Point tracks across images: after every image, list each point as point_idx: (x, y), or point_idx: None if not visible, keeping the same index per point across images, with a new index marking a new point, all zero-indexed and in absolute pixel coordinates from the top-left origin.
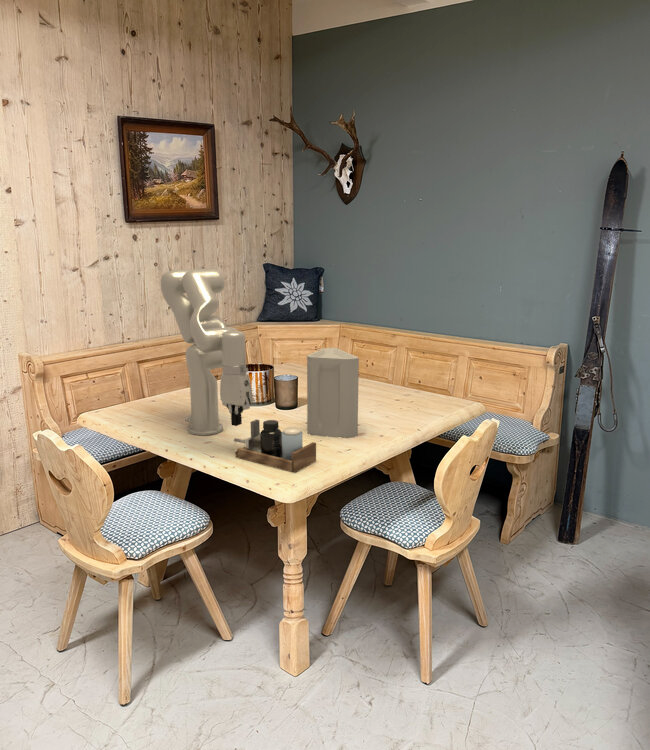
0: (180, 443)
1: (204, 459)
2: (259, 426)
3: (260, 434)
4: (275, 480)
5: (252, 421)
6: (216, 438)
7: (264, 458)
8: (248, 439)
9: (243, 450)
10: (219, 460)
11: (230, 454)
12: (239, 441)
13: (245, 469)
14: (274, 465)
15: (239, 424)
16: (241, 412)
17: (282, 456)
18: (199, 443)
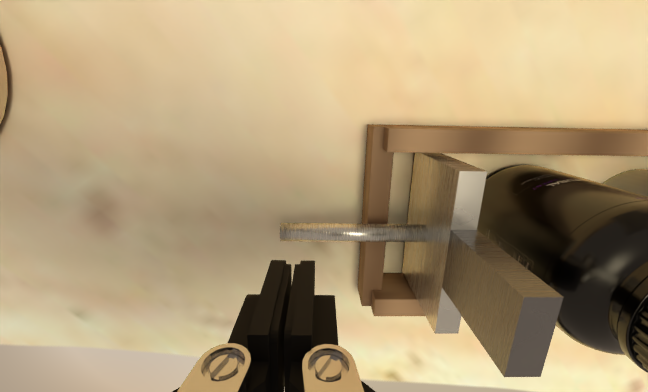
0: (14, 291)
1: None
2: (517, 261)
3: (562, 330)
4: (618, 371)
5: (516, 360)
6: (81, 140)
7: None
8: (453, 327)
9: (417, 315)
10: None
11: (315, 274)
12: (323, 241)
13: (468, 355)
14: None
15: (314, 283)
16: (346, 371)
17: None
18: (82, 245)
